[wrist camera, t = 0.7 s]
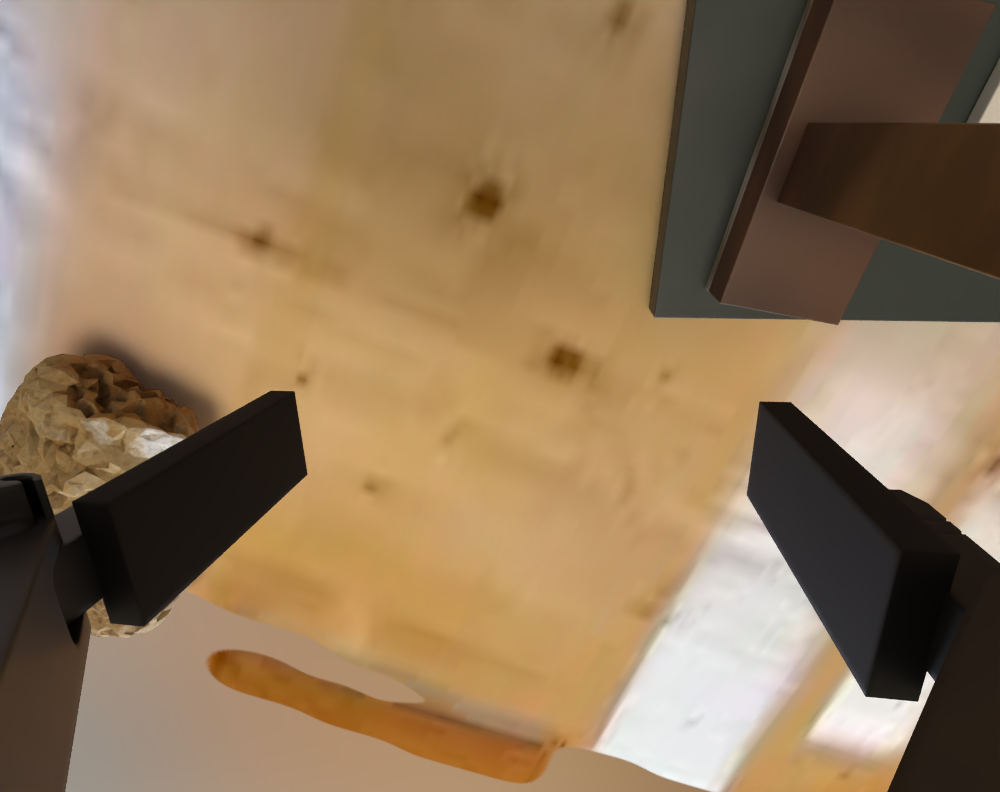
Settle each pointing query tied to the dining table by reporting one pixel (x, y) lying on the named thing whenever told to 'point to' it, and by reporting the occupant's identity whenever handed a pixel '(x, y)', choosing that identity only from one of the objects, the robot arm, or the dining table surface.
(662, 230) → the slate board
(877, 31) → the brown upright slab stand
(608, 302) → the dining table surface
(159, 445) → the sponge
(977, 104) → the chalk patch
